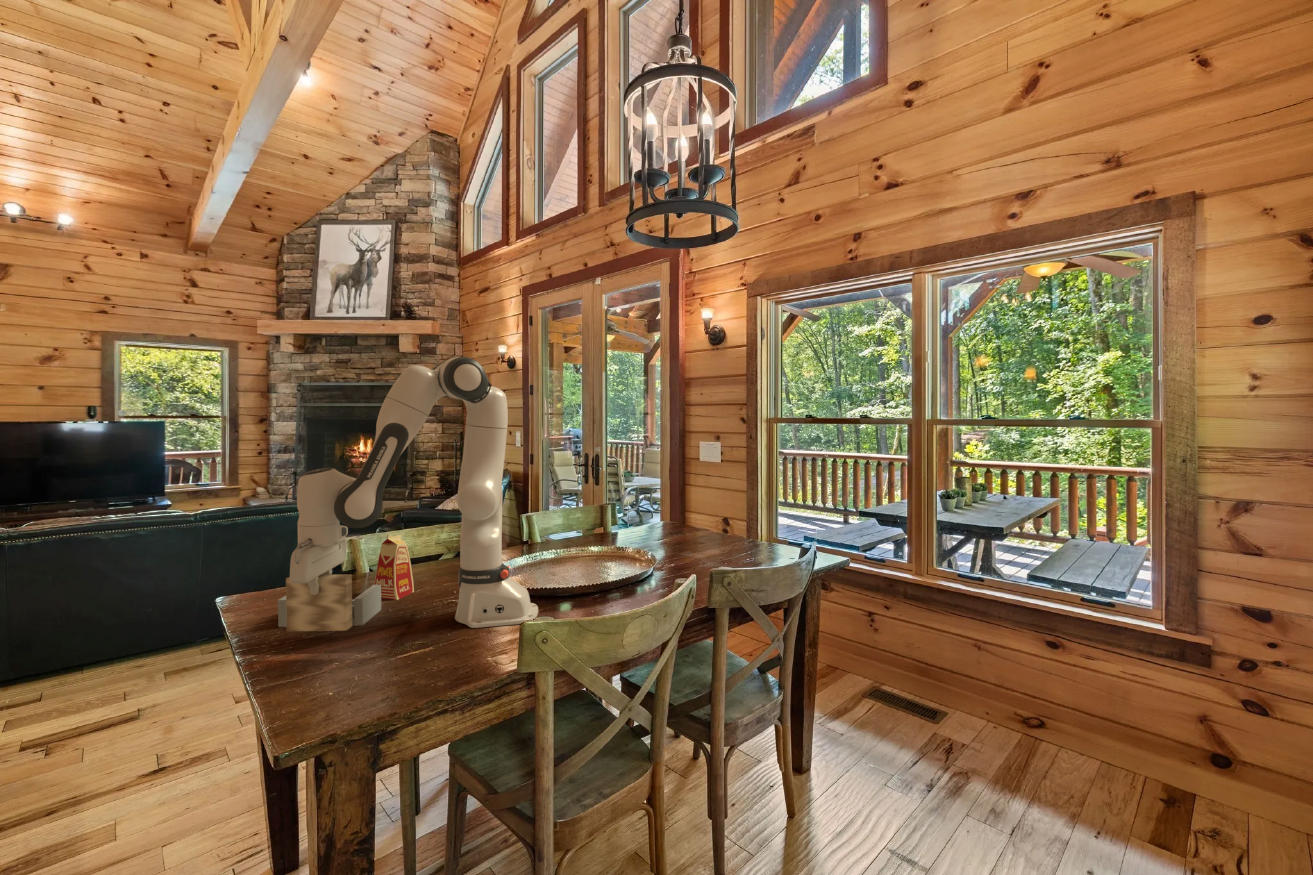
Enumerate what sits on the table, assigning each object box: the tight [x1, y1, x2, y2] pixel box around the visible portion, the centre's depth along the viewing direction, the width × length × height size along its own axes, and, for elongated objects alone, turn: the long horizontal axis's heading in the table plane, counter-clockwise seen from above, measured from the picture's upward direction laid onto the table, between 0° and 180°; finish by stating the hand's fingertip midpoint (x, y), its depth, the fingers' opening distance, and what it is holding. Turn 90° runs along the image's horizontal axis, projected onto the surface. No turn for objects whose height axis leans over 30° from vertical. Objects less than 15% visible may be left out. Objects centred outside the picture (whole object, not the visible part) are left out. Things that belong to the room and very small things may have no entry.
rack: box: [277, 584, 382, 628], centre depth 155 cm, size 21×12×8 cm, turn 94°
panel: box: [285, 573, 353, 632], centre depth 141 cm, size 14×3×13 cm, turn 94°
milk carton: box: [373, 534, 415, 601], centre depth 175 cm, size 9×9×20 cm
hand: (319, 590), depth 141 cm, fingers closed on panel, 3 cm apart
